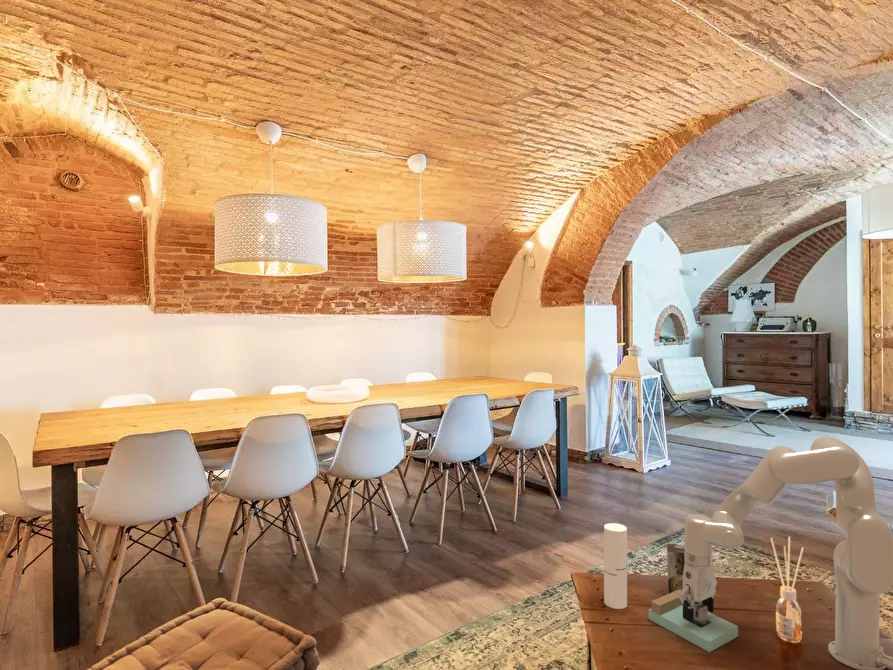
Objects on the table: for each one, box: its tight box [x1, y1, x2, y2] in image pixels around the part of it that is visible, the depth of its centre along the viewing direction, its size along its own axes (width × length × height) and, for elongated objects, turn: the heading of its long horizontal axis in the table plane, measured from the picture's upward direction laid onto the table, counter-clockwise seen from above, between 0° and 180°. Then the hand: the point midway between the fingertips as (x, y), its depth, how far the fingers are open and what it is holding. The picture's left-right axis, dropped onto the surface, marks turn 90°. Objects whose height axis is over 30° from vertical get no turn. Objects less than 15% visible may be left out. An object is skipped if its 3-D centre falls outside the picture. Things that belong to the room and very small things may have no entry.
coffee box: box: [666, 543, 696, 603], centre depth 181 cm, size 9×6×16 cm
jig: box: [648, 589, 739, 653], centre depth 163 cm, size 20×14×6 cm
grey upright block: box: [692, 601, 708, 628], centre depth 160 cm, size 4×4×8 cm
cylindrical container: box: [603, 522, 628, 610], centre depth 177 cm, size 7×7×25 cm
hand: (698, 615), depth 161 cm, fingers open, 9 cm apart
